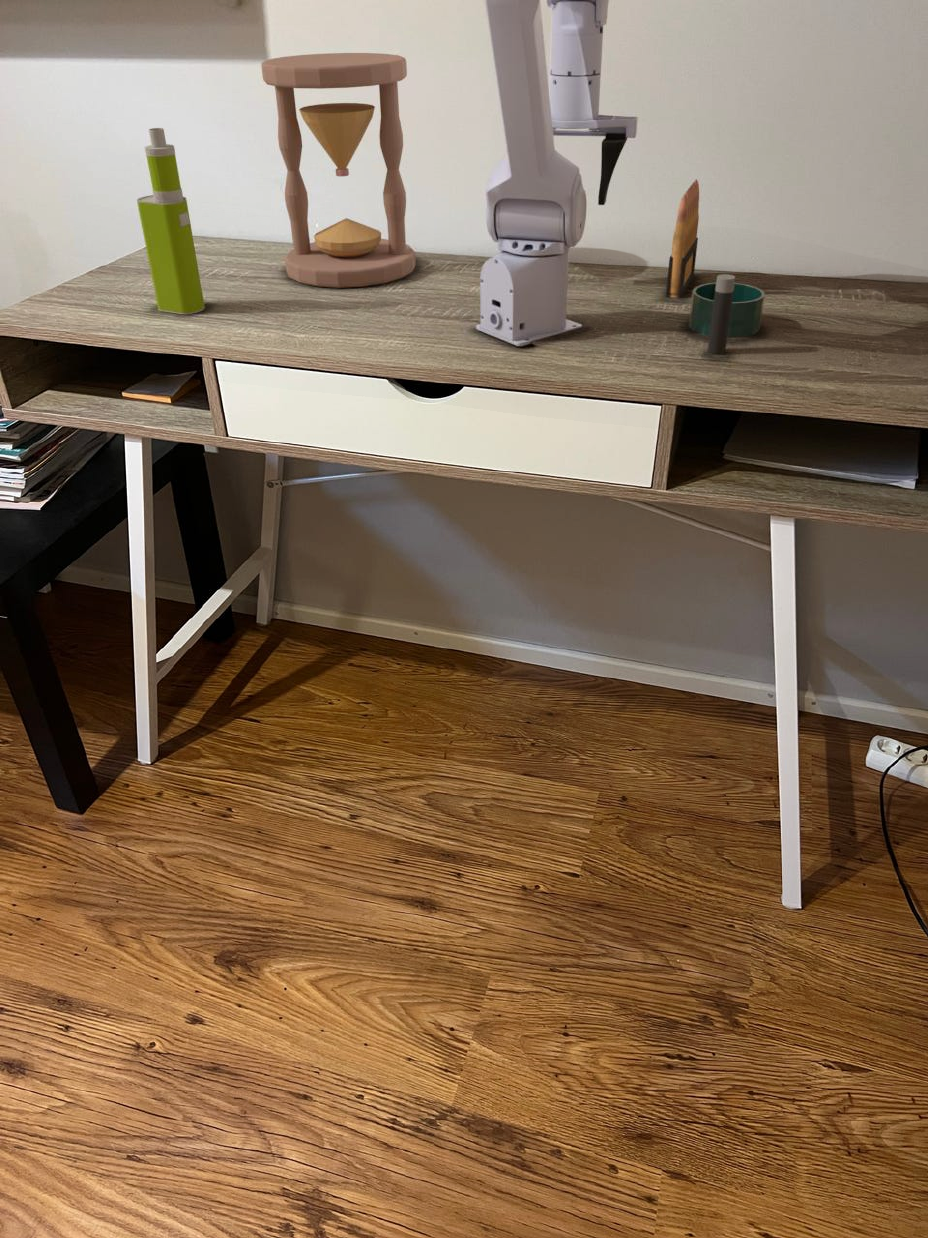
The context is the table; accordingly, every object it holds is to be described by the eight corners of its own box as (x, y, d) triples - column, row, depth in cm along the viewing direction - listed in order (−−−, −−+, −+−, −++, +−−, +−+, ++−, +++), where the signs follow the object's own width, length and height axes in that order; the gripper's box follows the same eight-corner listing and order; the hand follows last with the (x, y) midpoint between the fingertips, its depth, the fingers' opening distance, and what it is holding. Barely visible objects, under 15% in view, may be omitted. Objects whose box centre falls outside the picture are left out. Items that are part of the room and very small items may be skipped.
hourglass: (263, 283, 128) (234, 65, 114) (318, 249, 142) (298, 51, 128) (389, 292, 124) (375, 67, 109) (432, 256, 137) (425, 52, 123)
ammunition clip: (680, 301, 118) (691, 196, 111) (664, 300, 119) (675, 195, 112) (693, 277, 126) (705, 178, 120) (679, 276, 127) (689, 177, 120)
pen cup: (745, 346, 105) (750, 306, 103) (677, 334, 109) (681, 296, 106) (768, 325, 110) (774, 288, 108) (703, 315, 114) (707, 278, 111)
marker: (716, 360, 102) (727, 280, 97) (703, 355, 103) (713, 276, 98) (728, 356, 103) (739, 276, 98) (714, 351, 104) (725, 272, 99)
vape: (191, 315, 118) (159, 132, 106) (153, 309, 120) (116, 129, 108) (211, 306, 120) (181, 127, 109) (172, 301, 122) (139, 124, 111)
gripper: (643, 69, 111) (633, 196, 119) (518, 69, 114) (517, 193, 122) (637, 76, 106) (628, 209, 113) (506, 76, 109) (506, 205, 116)
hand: (570, 202), depth 117 cm, fingers open, 7 cm apart
